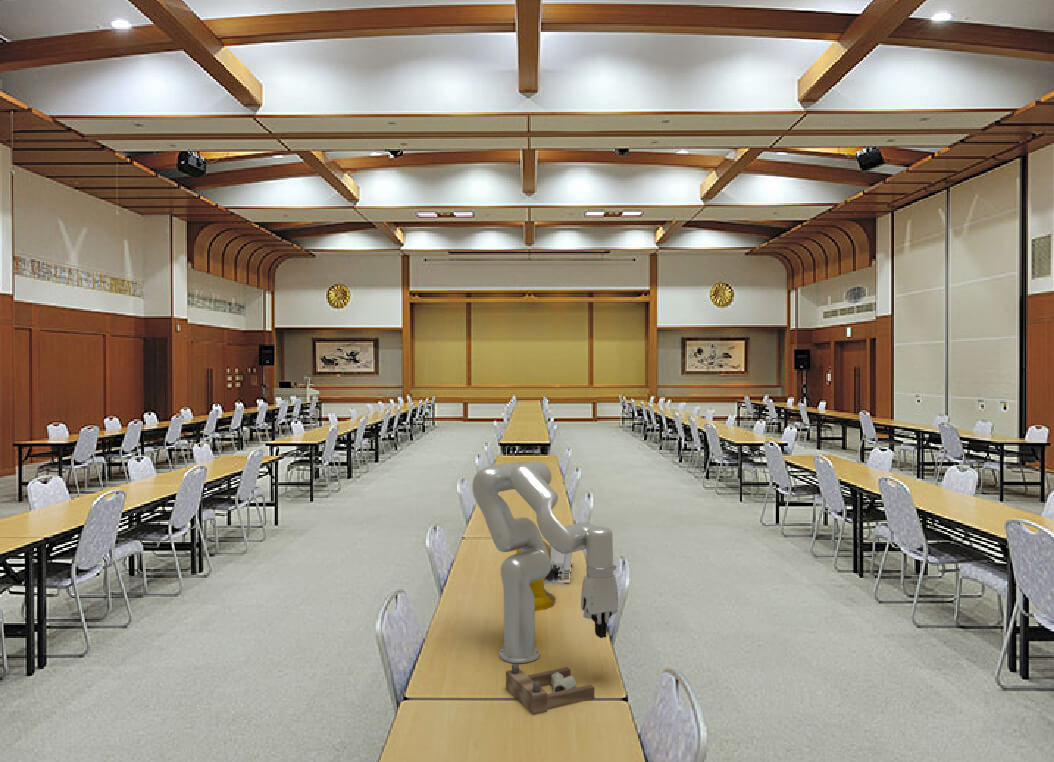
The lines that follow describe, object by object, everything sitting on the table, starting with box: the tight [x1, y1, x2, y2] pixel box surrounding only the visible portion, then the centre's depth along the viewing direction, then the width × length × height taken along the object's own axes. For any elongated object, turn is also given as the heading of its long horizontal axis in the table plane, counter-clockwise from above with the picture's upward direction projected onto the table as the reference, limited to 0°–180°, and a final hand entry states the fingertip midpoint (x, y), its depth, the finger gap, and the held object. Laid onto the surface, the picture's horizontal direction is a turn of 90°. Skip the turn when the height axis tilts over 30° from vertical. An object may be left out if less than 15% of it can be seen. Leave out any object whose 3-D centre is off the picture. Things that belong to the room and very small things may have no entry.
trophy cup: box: [515, 540, 557, 612], centre depth 279 cm, size 18×24×28 cm
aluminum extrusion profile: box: [544, 543, 573, 586], centre depth 319 cm, size 14×31×10 cm, turn 175°
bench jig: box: [505, 663, 595, 716], centre depth 202 cm, size 17×19×7 cm
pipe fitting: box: [550, 672, 577, 693], centre depth 204 cm, size 8×4×7 cm
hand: (601, 636), depth 208 cm, fingers closed
